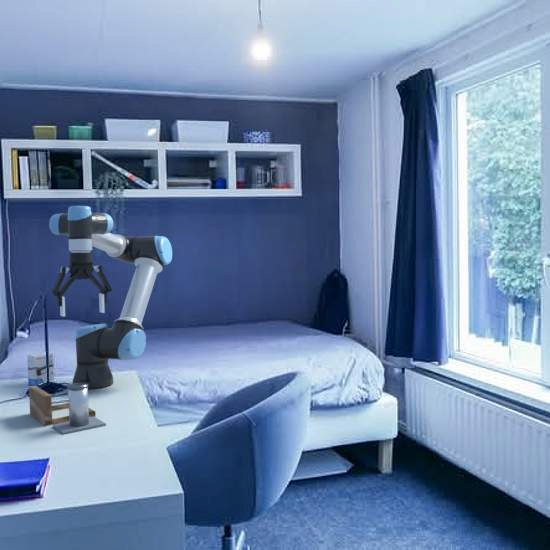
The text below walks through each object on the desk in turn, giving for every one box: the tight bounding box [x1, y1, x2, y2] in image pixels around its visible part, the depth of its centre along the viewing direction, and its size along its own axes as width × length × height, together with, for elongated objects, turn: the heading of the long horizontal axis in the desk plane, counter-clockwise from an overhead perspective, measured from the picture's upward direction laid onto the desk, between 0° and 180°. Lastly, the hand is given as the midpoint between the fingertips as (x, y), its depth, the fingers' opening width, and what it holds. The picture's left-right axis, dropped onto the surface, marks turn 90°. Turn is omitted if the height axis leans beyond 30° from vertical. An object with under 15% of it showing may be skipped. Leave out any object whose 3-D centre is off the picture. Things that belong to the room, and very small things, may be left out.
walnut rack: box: [28, 385, 96, 427], centre depth 197 cm, size 16×16×9 cm
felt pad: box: [52, 416, 107, 435], centre depth 185 cm, size 13×9×1 cm
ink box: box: [27, 351, 55, 386], centre depth 239 cm, size 8×5×12 cm, turn 143°
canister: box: [67, 382, 90, 427], centre depth 185 cm, size 6×6×12 cm
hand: (82, 314), depth 209 cm, fingers open, 13 cm apart
